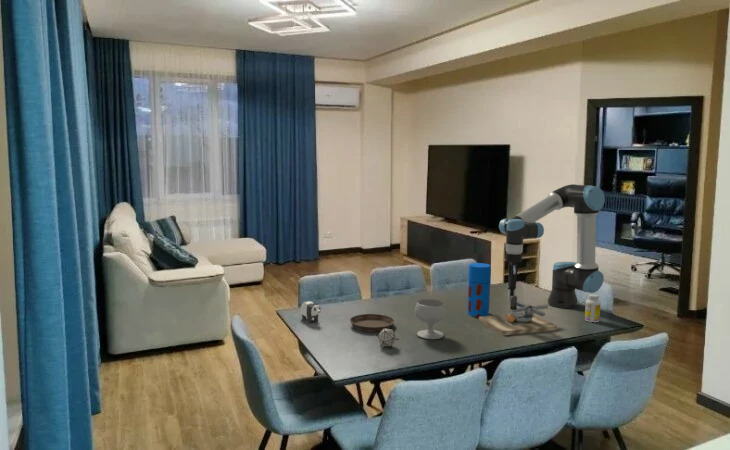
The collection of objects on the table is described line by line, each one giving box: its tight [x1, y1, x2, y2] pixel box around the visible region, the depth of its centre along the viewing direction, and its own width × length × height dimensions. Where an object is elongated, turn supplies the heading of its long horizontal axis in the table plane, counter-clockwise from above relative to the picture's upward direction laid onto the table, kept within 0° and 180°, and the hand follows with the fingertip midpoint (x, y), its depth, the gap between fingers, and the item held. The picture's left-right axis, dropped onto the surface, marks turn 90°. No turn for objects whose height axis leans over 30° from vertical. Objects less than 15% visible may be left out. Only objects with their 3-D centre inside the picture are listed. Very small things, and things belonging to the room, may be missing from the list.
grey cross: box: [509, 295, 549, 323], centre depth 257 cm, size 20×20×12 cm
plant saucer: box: [349, 313, 395, 333], centre depth 255 cm, size 21×21×3 cm
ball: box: [507, 315, 515, 322], centre depth 255 cm, size 4×4×4 cm
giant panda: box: [300, 301, 322, 324], centre depth 261 cm, size 15×6×10 cm, turn 33°
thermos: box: [466, 262, 492, 318], centre depth 274 cm, size 11×11×25 cm
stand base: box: [478, 313, 558, 336], centre depth 258 cm, size 28×22×2 cm
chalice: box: [414, 298, 448, 340], centre depth 242 cm, size 14×14×15 cm
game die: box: [375, 327, 399, 349], centre depth 229 cm, size 9×8×10 cm
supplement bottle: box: [584, 293, 602, 324], centre depth 265 cm, size 7×7×13 cm
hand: (511, 302), depth 256 cm, fingers closed
